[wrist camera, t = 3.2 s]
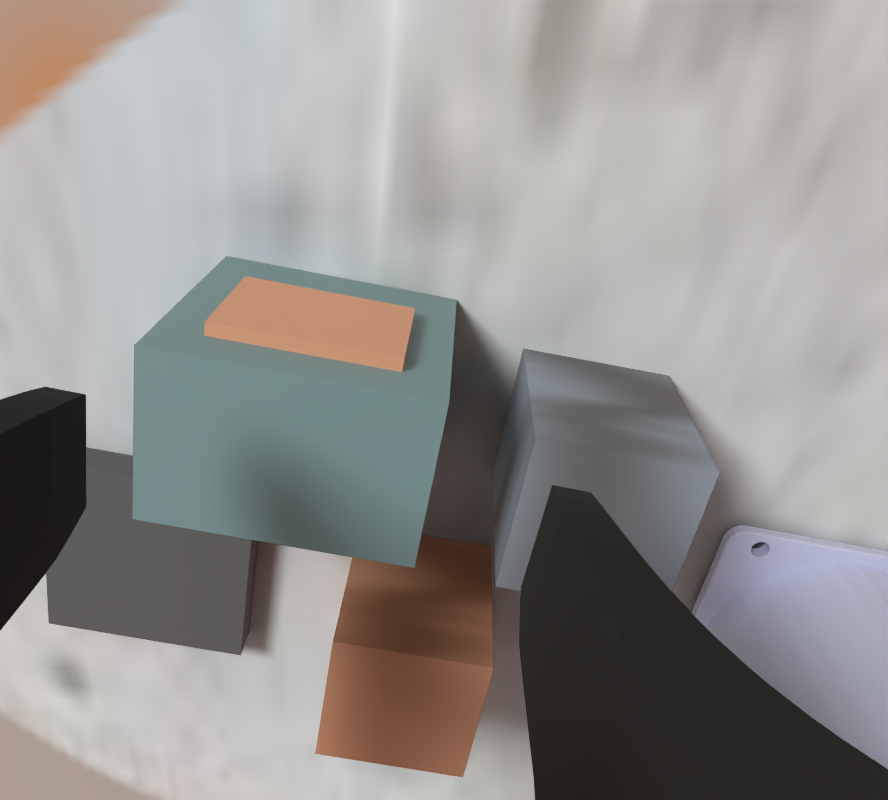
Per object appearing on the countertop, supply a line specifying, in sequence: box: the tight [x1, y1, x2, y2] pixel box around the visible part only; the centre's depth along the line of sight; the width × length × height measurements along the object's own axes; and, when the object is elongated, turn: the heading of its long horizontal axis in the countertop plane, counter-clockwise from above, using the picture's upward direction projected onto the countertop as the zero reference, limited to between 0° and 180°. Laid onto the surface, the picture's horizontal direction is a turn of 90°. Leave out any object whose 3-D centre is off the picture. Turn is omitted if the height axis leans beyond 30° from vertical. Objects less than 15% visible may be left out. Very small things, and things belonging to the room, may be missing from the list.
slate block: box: [492, 349, 720, 591], centre depth 20 cm, size 4×4×5 cm
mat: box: [46, 448, 258, 655], centre depth 24 cm, size 6×6×1 cm
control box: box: [132, 256, 457, 568], centre depth 19 cm, size 6×5×6 cm
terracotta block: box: [315, 534, 494, 777], centre depth 22 cm, size 4×4×5 cm
